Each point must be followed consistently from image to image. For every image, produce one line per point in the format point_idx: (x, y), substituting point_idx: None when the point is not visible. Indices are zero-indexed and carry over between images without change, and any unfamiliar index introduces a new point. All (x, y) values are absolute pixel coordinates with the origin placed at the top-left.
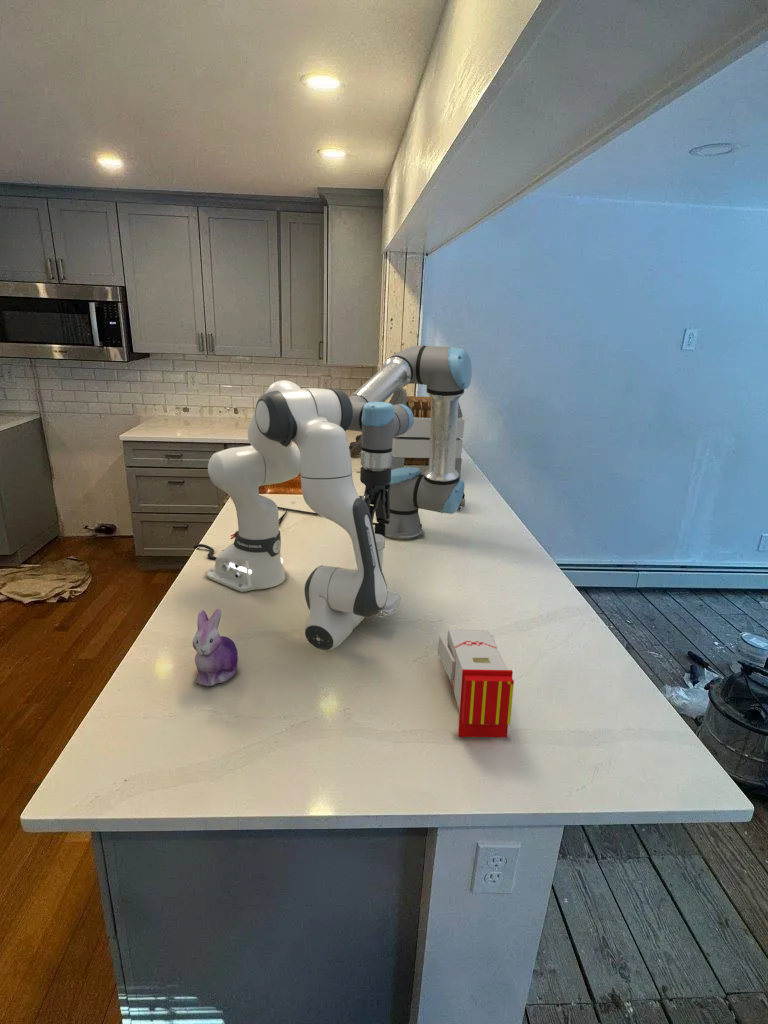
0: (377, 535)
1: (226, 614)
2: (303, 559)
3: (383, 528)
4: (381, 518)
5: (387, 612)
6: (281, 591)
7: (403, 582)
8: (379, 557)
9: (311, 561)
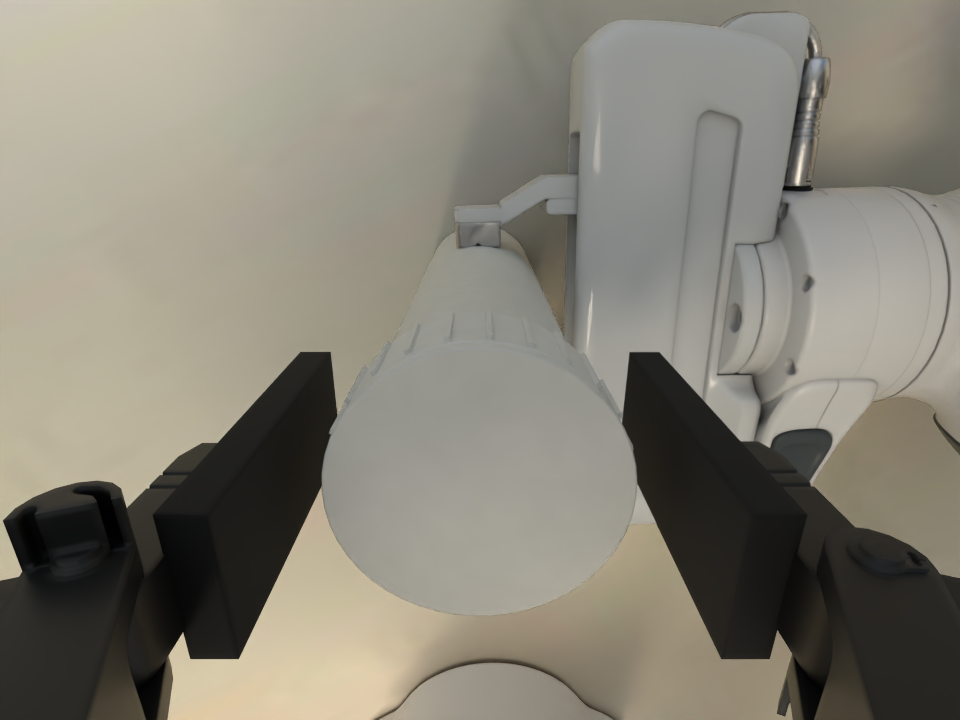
0: (375, 482)
1: (774, 684)
2: (259, 691)
3: (233, 493)
4: (131, 682)
5: (808, 39)
6: (546, 631)
7: (149, 226)
8: (520, 306)
9: (253, 662)
